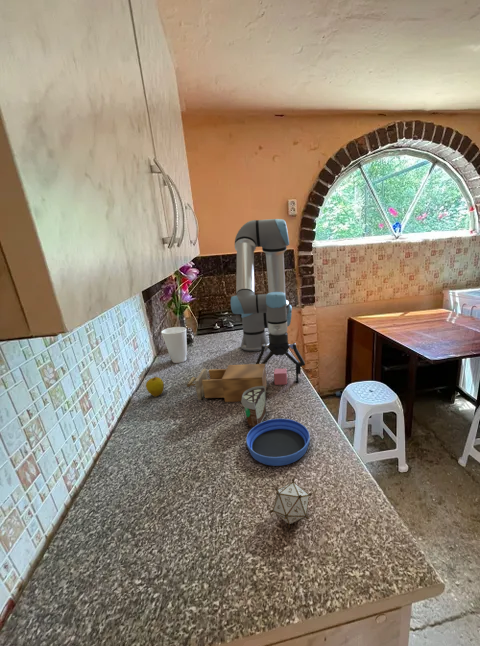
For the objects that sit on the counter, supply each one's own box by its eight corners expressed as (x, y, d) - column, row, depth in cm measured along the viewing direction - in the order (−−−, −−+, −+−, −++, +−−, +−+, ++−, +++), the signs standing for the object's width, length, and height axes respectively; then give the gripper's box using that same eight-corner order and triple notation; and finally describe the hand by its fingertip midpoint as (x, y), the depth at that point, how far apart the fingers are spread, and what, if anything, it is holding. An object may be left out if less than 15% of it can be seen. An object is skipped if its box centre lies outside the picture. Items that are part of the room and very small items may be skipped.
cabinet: (224, 402, 115) (221, 378, 112) (231, 386, 127) (228, 365, 123) (263, 400, 114) (262, 377, 111) (266, 385, 126) (265, 363, 123)
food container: (250, 409, 109) (247, 384, 105) (267, 410, 108) (265, 385, 104) (238, 430, 98) (234, 402, 94) (257, 431, 96) (254, 403, 93)
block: (275, 379, 131) (274, 368, 129) (287, 379, 131) (286, 368, 129) (274, 384, 126) (273, 373, 125) (286, 384, 126) (286, 373, 124)
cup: (190, 362, 153) (185, 332, 148) (165, 366, 151) (159, 334, 145) (192, 354, 164) (187, 325, 158) (168, 357, 162) (162, 328, 156)
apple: (165, 389, 127) (161, 372, 124) (166, 396, 121) (162, 378, 118) (148, 393, 124) (144, 375, 122) (148, 400, 119) (144, 381, 116)
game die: (301, 531, 67) (323, 520, 61) (264, 532, 64) (283, 520, 57) (297, 488, 73) (316, 474, 66) (263, 487, 70) (280, 471, 63)
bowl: (234, 450, 89) (232, 439, 87) (277, 421, 101) (276, 412, 100) (280, 478, 77) (280, 467, 76) (322, 442, 90) (322, 432, 89)
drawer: (186, 400, 116) (183, 381, 113) (195, 386, 126) (192, 369, 124) (233, 398, 115) (231, 379, 112) (238, 384, 126) (236, 367, 123)
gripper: (245, 336, 118) (250, 386, 125) (310, 334, 117) (311, 384, 124) (247, 331, 125) (252, 378, 132) (309, 328, 124) (310, 376, 131)
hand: (281, 381), depth 128 cm, fingers open, 13 cm apart
